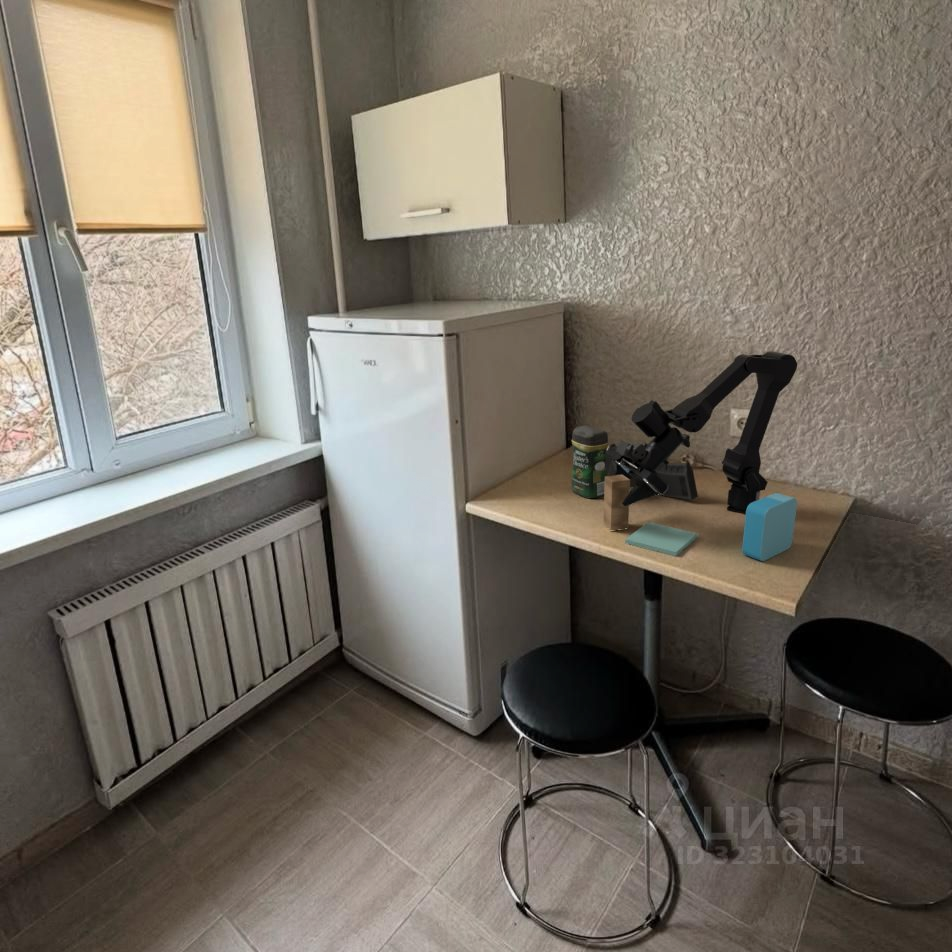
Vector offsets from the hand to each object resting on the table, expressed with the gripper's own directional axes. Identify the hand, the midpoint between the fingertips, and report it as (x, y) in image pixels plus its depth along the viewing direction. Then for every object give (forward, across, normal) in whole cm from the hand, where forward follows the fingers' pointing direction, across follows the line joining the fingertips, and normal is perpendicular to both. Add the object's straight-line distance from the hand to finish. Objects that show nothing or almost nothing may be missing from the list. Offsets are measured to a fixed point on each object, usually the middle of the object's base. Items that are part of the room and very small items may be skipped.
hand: (614, 498), depth 155 cm
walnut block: (+5, 0, +6) cm, 8 cm away
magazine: (-8, -22, +19) cm, 30 cm away
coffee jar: (+3, -24, +8) cm, 25 cm away
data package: (-12, +23, +23) cm, 35 cm away
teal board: (0, +10, +10) cm, 14 cm away
